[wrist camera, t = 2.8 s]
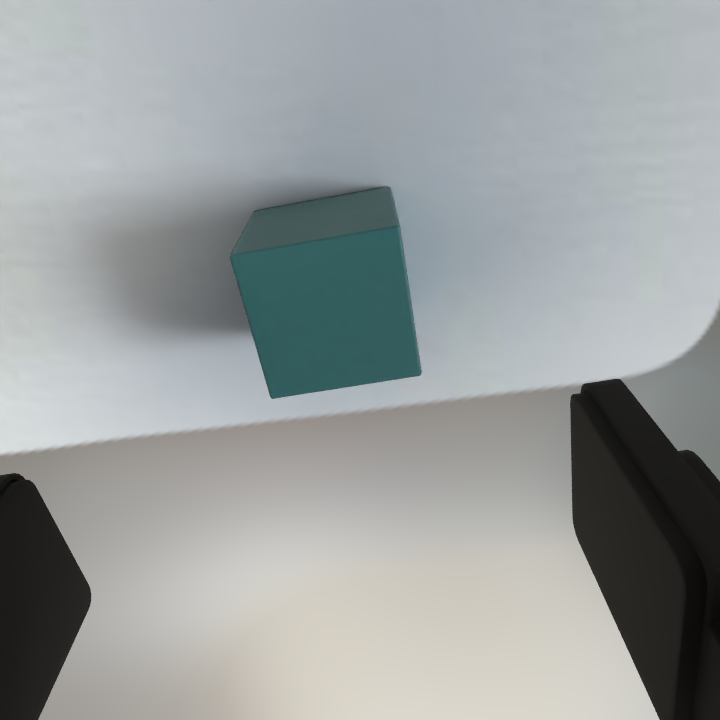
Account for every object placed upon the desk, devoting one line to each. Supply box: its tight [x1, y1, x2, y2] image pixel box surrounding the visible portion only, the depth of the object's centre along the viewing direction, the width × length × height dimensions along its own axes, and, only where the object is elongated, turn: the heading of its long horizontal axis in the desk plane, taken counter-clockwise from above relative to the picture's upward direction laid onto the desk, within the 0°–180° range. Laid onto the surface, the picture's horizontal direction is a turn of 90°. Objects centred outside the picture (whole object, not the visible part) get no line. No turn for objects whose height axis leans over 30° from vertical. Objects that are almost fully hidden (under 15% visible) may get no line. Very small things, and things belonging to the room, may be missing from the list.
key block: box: [230, 187, 422, 399], centre depth 18 cm, size 4×4×4 cm
